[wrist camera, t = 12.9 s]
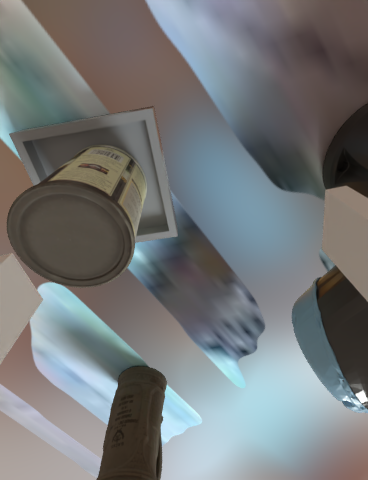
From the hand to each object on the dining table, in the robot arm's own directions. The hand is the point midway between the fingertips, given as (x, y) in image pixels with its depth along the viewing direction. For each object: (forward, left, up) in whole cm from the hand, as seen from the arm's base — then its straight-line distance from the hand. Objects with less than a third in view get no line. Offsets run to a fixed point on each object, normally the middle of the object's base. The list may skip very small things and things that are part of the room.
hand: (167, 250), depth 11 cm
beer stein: (-29, +44, -25) cm, 58 cm away
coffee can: (+3, +9, -24) cm, 26 cm away
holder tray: (+3, +10, -24) cm, 26 cm away
